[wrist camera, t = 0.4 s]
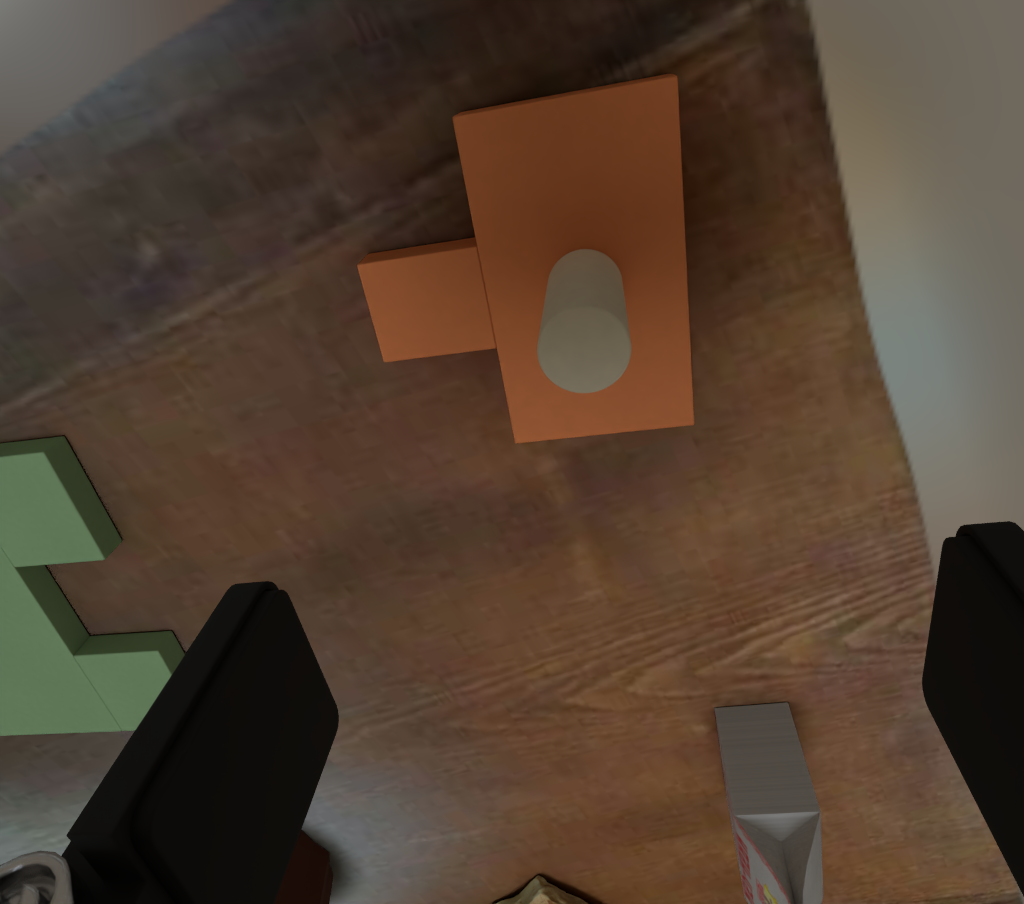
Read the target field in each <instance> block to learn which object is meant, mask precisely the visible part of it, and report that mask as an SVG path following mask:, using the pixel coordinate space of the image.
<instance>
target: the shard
mask: <svg viewBox="0 0 1024 904" xmlns="http://www.w3.org/2000/svg"><path fill="white" fill-rule="evenodd" d="M495 904H588V903H586V902H585V901H584V900H582V899H580V898H578V897H576V896H573V895H571V894H568V893H566V892H565V891H562V890H560V889H559V888H557V887H556V886H554V885H552V884H550V883H548V882H547V881H546V880H545V879H544V878H543V877H541V876H536V877H535V878H534V879H533V880H532V881H531V882H530V883H529V884H528V885H527V886H526V887H525V888H524V889H523V890H522V892H520V894H518V895H517V896H515V897H513V898H510V899H505V900H502V901H500V902H498V903H495Z"/></svg>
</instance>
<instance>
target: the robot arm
mask: <svg viewBox="0 0 1024 904" xmlns="http://www.w3.org/2000/svg"><path fill="white" fill-rule="evenodd" d="M922 687H923V693H924V697H925V701H926V704H927V706H928V708H929V710H930V712H931V714H932V716H933V718H934V720H935V722H936V724H937V726H938V728H939V730H940V732H941V734H942V736H943V738H944V740H945V742H946V744H947V746H948V748H949V750H950V752H951V754H952V756H953V758H954V760H955V762H956V764H957V766H958V768H959V770H960V772H961V774H962V776H963V778H964V780H965V782H966V783H967V785H968V787H969V789H970V791H971V793H972V795H973V797H974V799H975V801H976V803H977V805H978V807H979V809H980V811H981V813H982V815H983V817H984V819H985V821H986V823H987V825H988V827H989V829H990V831H991V833H992V835H993V837H994V839H995V841H996V843H997V845H998V847H999V849H1000V851H1001V853H1002V855H1003V856H1004V858H1005V860H1006V862H1007V864H1008V866H1009V868H1010V870H1011V872H1012V874H1013V876H1014V878H1015V880H1016V882H1017V884H1018V886H1019V888H1020V890H1021V892H1022V894H1023V896H1024V531H1023V530H1022V529H1021V528H1020V527H1019V526H1018V525H1017V524H1016V523H1013V522H1010V521H1008V522H996V523H984V524H971V525H963V526H961V527H960V528H959V529H958V531H957V533H956V537H949V538H946V539H945V540H944V542H943V546H942V552H941V558H940V565H939V571H938V578H937V585H936V591H935V598H934V604H933V611H932V618H931V624H930V631H929V638H928V644H927V651H926V657H925V664H924V671H923V677H922ZM338 722H339V715H338V709H337V705H336V703H335V701H334V699H333V696H332V694H331V692H330V689H329V687H328V685H327V682H326V680H325V678H324V676H323V673H322V671H321V669H320V666H319V664H318V662H317V659H316V657H315V655H314V653H313V650H312V648H311V646H310V643H309V641H308V639H307V636H306V634H305V632H304V630H303V627H302V625H301V623H300V620H299V618H298V616H297V613H296V611H295V609H294V607H293V604H292V602H291V600H290V597H289V595H288V594H287V592H285V591H284V590H279V589H278V588H277V586H276V585H275V584H274V583H273V582H269V581H266V582H253V583H241V584H235V585H232V586H231V587H230V588H229V589H228V590H227V592H226V593H225V595H224V596H223V598H222V599H221V601H220V602H219V604H218V605H217V607H216V608H215V610H214V611H213V613H212V614H211V616H210V617H209V619H208V621H207V622H206V624H205V625H204V627H203V628H202V630H201V631H200V633H199V634H198V636H197V637H196V639H195V640H194V642H193V643H192V645H191V646H190V648H189V649H188V651H187V653H186V654H185V656H184V657H183V659H182V660H181V662H180V663H179V665H178V666H177V668H176V669H175V671H174V672H173V674H172V675H171V677H170V678H169V680H168V681H167V683H166V685H165V686H164V688H163V689H162V691H161V692H160V694H159V695H158V697H157V698H156V700H155V701H154V703H153V704H152V706H151V707H150V709H149V710H148V712H147V713H146V715H145V717H144V718H143V720H142V721H141V723H140V724H139V726H138V727H137V729H136V730H135V732H134V733H133V735H132V736H131V738H130V739H129V741H128V742H127V744H126V745H125V747H124V748H123V750H122V752H121V753H120V755H119V756H118V758H117V759H116V761H115V762H114V764H113V765H112V767H111V768H110V770H109V771H108V773H107V774H106V776H105V777H104V779H103V780H102V782H101V784H100V785H99V787H98V788H97V790H96V791H95V793H94V794H93V796H92V797H91V799H90V800H89V802H88V803H87V805H86V806H85V808H84V809H83V811H82V812H81V814H80V816H79V817H78V819H77V820H76V822H75V823H74V825H73V826H72V828H71V829H70V831H69V832H68V834H67V835H66V836H67V837H68V838H69V839H70V840H71V842H70V844H69V845H68V847H67V848H66V850H65V851H64V853H63V854H62V856H60V855H59V854H57V853H56V852H48V851H37V852H33V853H29V854H24V855H21V856H19V857H17V858H15V859H13V860H10V861H8V862H6V863H4V864H2V865H0V904H274V903H275V900H276V897H277V895H278V892H279V889H280V886H281V884H282V881H283V878H284V875H285V873H286V870H287V867H288V864H289V862H290V859H291V856H292V853H293V851H294V848H295V845H296V842H297V840H298V837H299V834H300V831H301V829H302V826H303V823H304V820H305V818H306V815H307V812H308V809H309V807H310V804H311V801H312V798H313V796H314V793H315V790H316V787H317V785H318V782H319V779H320V777H321V774H322V771H323V768H324V766H325V763H326V760H327V757H328V755H329V752H330V749H331V746H332V744H333V741H334V738H335V735H336V732H337V729H338Z"/></svg>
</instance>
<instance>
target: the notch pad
mask: <svg viewBox="0 0 1024 904" xmlns="http://www.w3.org/2000/svg"><path fill="white" fill-rule="evenodd" d="M121 542H122V540H121V538H120V536H119V534H118V532H117V531H116V529H115V527H114V525H113V523H112V521H111V520H110V518H109V516H108V514H107V512H106V511H105V509H104V507H103V505H102V503H101V502H100V500H99V498H98V496H97V494H96V492H95V491H94V489H93V487H92V485H91V483H90V482H89V480H88V478H87V476H86V474H85V473H84V471H83V469H82V467H81V465H80V463H79V462H78V460H77V458H76V456H75V454H74V453H73V451H72V449H71V447H70V445H69V444H68V442H67V440H66V438H65V437H64V436H61V437H53V438H44V439H36V440H27V441H19V442H10V443H2V444H0V736H3V735H30V734H56V733H82V732H109V731H122V730H123V731H132V730H136V729H137V727H138V726H139V724H140V723H141V721H142V720H143V718H144V717H145V715H146V713H147V712H148V710H149V709H150V707H151V706H152V704H153V703H154V701H155V700H156V698H157V697H158V695H159V694H160V692H161V691H162V689H163V688H164V686H165V685H166V683H167V681H168V680H169V678H170V677H171V675H172V674H173V672H174V671H175V669H176V668H177V666H178V665H179V663H180V662H181V660H182V659H183V657H184V656H185V654H184V652H183V650H182V648H181V646H180V645H179V643H178V641H177V639H176V637H175V636H174V634H173V632H172V631H162V632H146V633H130V634H115V635H99V636H89V634H88V633H87V631H86V630H85V628H84V626H83V625H82V623H81V622H80V620H79V619H78V617H77V615H76V614H75V612H74V611H73V609H72V608H71V606H70V604H69V603H68V601H67V600H66V598H65V596H64V595H63V593H62V592H61V590H60V589H59V587H58V585H57V584H56V582H55V581H54V579H53V578H52V576H51V574H50V573H49V571H48V570H47V568H46V566H45V565H48V564H60V563H72V562H84V561H96V560H105V559H106V558H107V557H108V556H109V555H110V554H111V553H112V552H113V550H114V549H115V548H116V547H117V546H118V545H119V544H120V543H121Z"/></svg>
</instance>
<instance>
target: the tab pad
mask: <svg viewBox="0 0 1024 904" xmlns="http://www.w3.org/2000/svg"><path fill="white" fill-rule="evenodd" d="M453 124H454V129H455V134H456V139H457V145H458V150H459V155H460V160H461V165H462V171H463V176H464V181H465V186H466V191H467V196H468V202H469V207H470V212H471V217H472V222H473V227H474V233H475V237H474V238H467V239H461V240H455V241H448V242H442V243H435V244H429V245H422V246H416V247H409V248H403V249H396V250H390V251H383V252H377V253H370V254H368V255H367V256H366V257H364V258H363V259H362V260H361V261H360V262H359V263H358V264H357V267H358V271H359V275H360V278H361V282H362V285H363V289H364V292H365V296H366V300H367V303H368V307H369V310H370V314H371V317H372V321H373V324H374V328H375V332H376V335H377V339H378V342H379V346H380V349H381V353H382V357H383V360H384V362H391V361H399V360H407V359H415V358H423V357H431V356H439V355H446V354H454V353H462V352H470V351H478V350H486V349H494V348H496V347H497V352H498V357H499V362H500V367H501V372H502V378H503V383H504V388H505V393H506V398H507V403H508V409H509V414H510V419H511V424H512V429H513V435H514V440H515V443H525V442H534V441H544V440H554V439H563V438H573V437H583V436H592V435H602V434H612V433H621V432H631V431H641V430H650V429H660V428H670V427H679V426H689V425H694V405H693V384H692V364H691V343H690V322H689V302H688V281H687V261H686V240H685V219H684V199H683V178H682V157H681V137H680V116H679V95H678V77H677V76H676V75H674V74H671V73H670V74H664V75H659V76H654V77H648V78H643V79H637V80H632V81H627V82H621V83H616V84H610V85H605V86H600V87H594V88H589V89H583V90H578V91H572V92H567V93H562V94H556V95H551V96H545V97H540V98H535V99H529V100H524V101H518V102H513V103H508V104H502V105H497V106H491V107H486V108H481V109H475V110H470V111H464V112H460V113H459V114H457V115H455V116H454V117H453Z"/></svg>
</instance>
